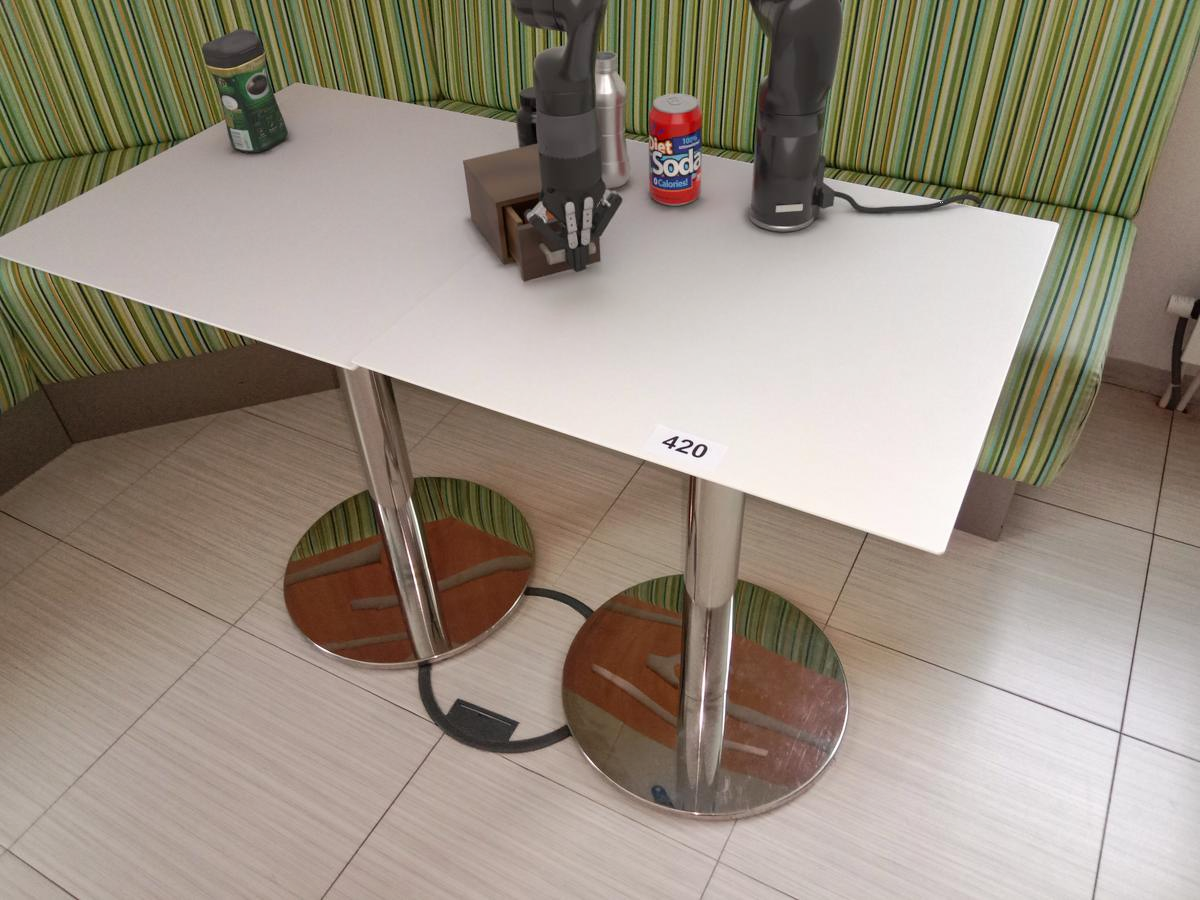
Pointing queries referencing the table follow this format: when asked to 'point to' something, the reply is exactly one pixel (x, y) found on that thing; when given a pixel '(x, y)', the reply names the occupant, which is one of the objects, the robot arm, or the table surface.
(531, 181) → the cabinet
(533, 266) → the drawer
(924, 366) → the table surface
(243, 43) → the coffee jar
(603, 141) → the silver metal bottle
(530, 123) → the supplement bottle
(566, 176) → the robot arm
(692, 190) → the soda can
